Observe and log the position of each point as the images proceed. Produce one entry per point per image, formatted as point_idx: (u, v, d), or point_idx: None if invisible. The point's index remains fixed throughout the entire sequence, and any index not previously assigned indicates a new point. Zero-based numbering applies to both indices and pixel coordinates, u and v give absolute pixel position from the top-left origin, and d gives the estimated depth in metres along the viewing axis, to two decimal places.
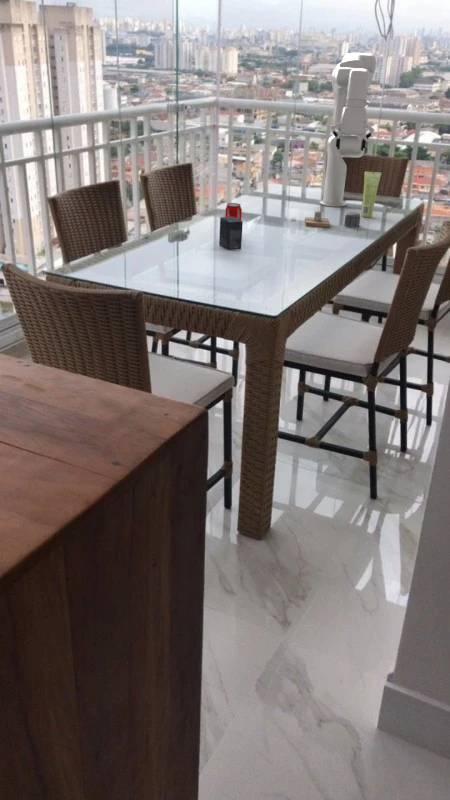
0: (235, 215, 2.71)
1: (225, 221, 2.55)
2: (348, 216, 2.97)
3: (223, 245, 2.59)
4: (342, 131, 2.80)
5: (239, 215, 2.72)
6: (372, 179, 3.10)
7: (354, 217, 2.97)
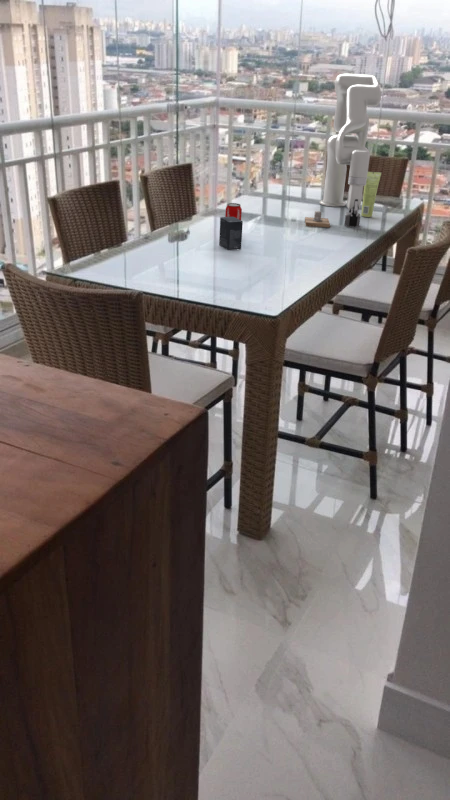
0: (235, 215, 2.71)
1: (225, 221, 2.55)
2: (348, 216, 2.97)
3: (223, 245, 2.59)
4: None
5: (239, 215, 2.72)
6: (372, 179, 3.10)
7: None
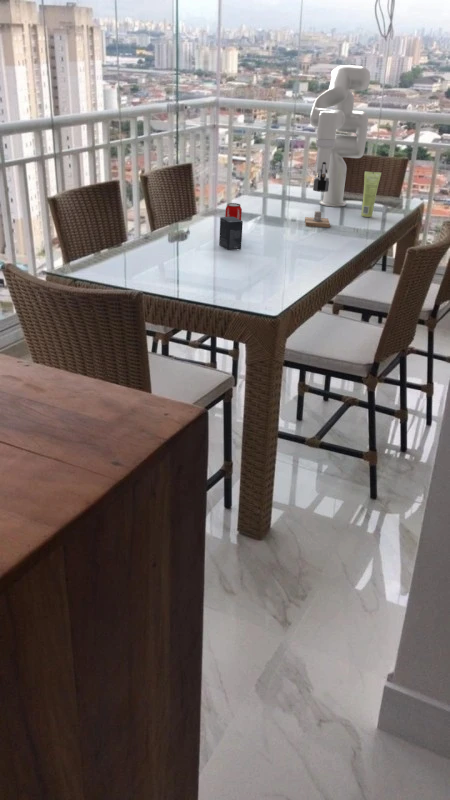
0: (235, 215, 2.71)
1: (225, 221, 2.55)
2: (316, 180, 2.91)
3: (223, 245, 2.59)
4: (328, 171, 2.87)
5: (239, 215, 2.72)
6: (372, 179, 3.10)
7: None
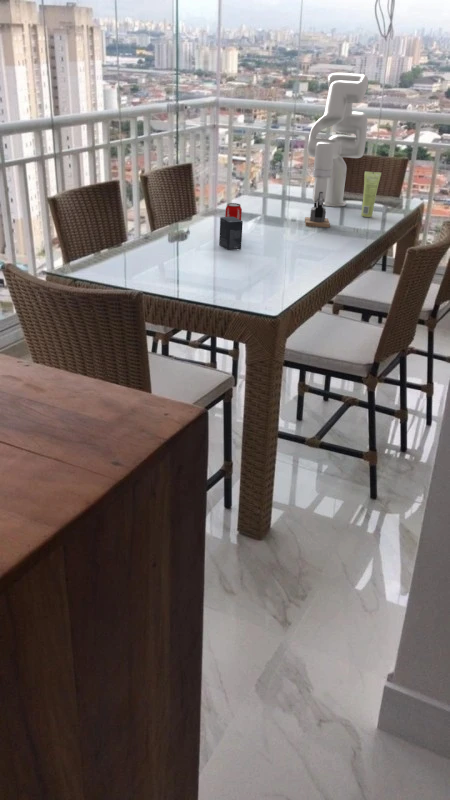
0: (235, 215, 2.71)
1: (225, 221, 2.55)
2: (313, 211, 2.96)
3: (223, 245, 2.59)
4: (325, 200, 2.92)
5: (239, 215, 2.72)
6: (372, 179, 3.10)
7: None
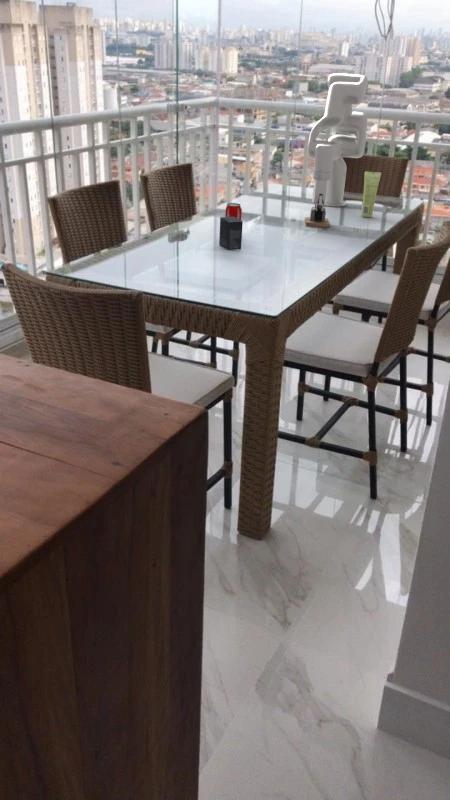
0: (235, 215, 2.71)
1: (225, 221, 2.55)
2: (313, 211, 2.96)
3: (223, 245, 2.59)
4: (324, 202, 2.93)
5: (239, 215, 2.72)
6: (372, 179, 3.10)
7: None
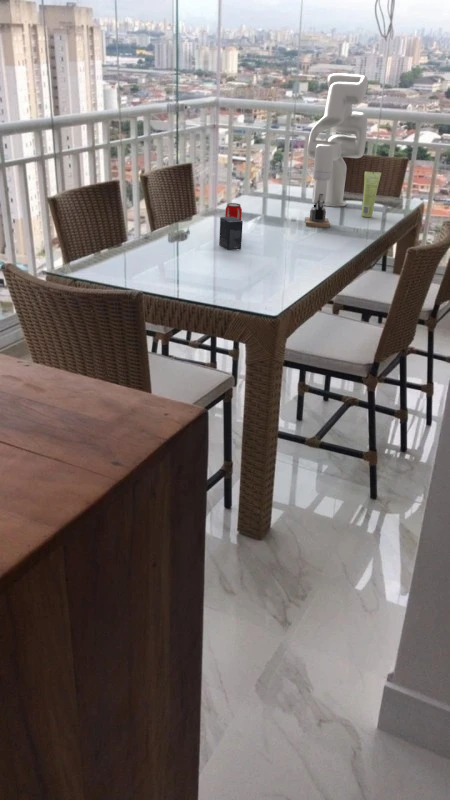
0: (235, 215, 2.71)
1: (225, 221, 2.55)
2: None
3: (223, 245, 2.59)
4: (325, 202, 2.93)
5: (239, 215, 2.72)
6: (372, 179, 3.10)
7: None
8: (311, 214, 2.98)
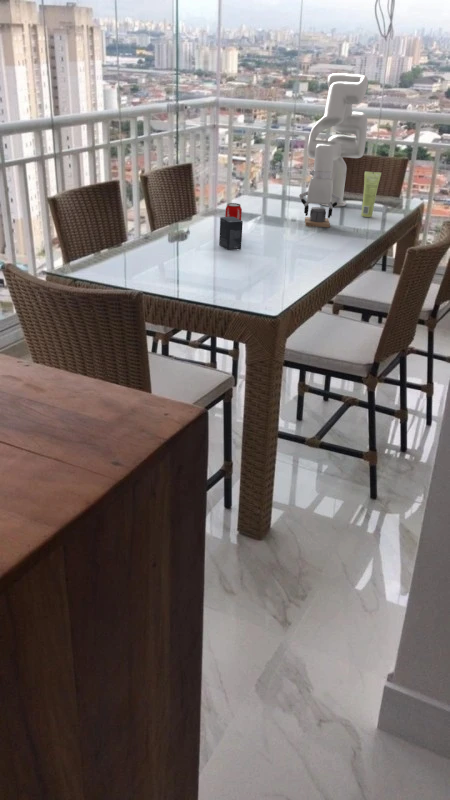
0: (235, 215, 2.71)
1: (225, 221, 2.55)
2: None
3: (223, 245, 2.59)
4: None
5: (239, 215, 2.72)
6: (372, 179, 3.10)
7: None
8: (320, 215, 2.96)
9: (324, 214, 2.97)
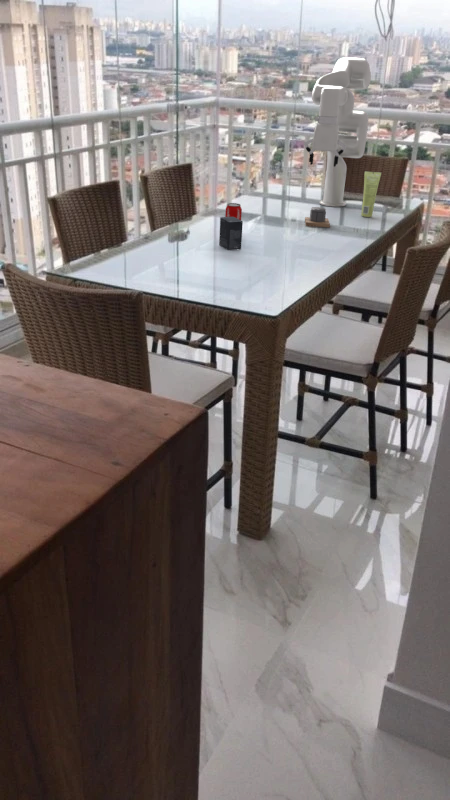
0: (235, 215, 2.71)
1: (225, 221, 2.55)
2: None
3: (223, 245, 2.59)
4: None
5: (239, 215, 2.72)
6: (372, 179, 3.10)
7: None
8: (320, 215, 2.96)
9: (324, 214, 2.97)
